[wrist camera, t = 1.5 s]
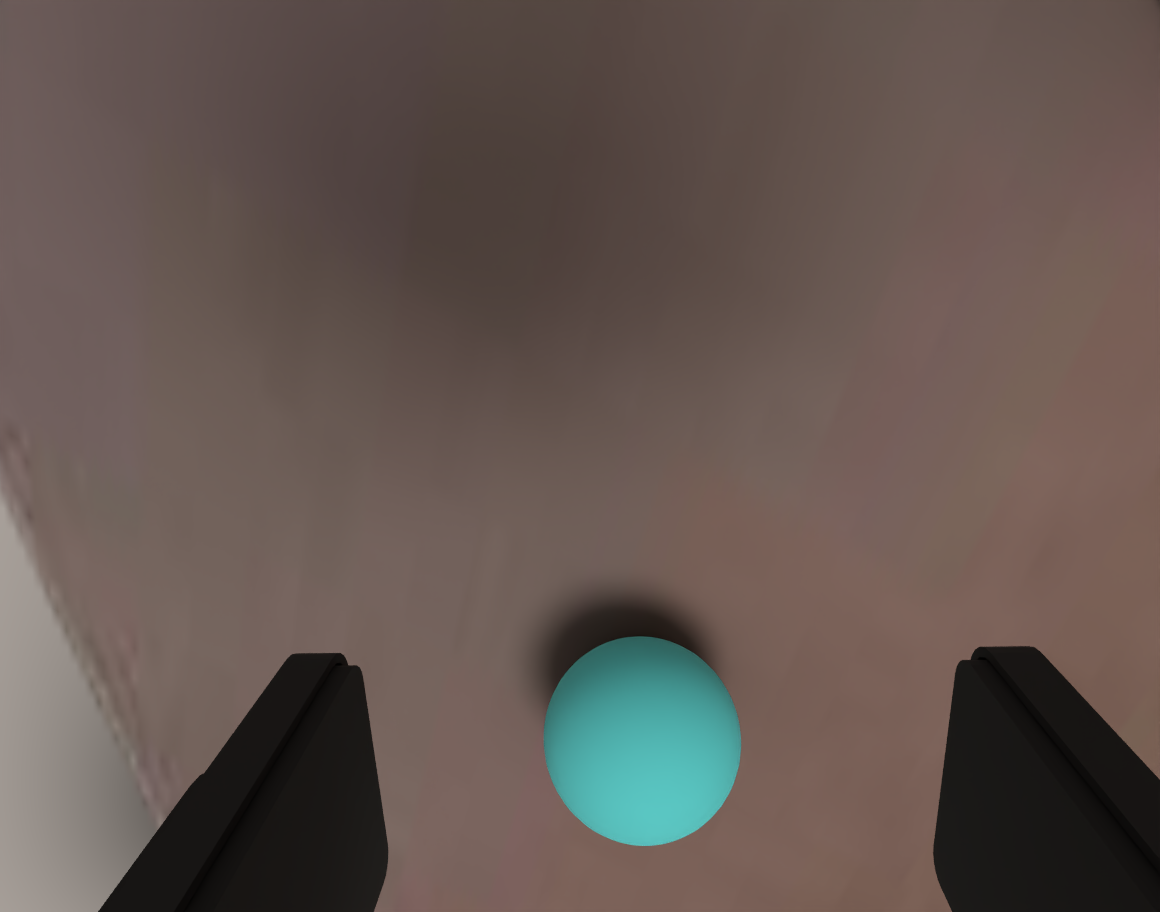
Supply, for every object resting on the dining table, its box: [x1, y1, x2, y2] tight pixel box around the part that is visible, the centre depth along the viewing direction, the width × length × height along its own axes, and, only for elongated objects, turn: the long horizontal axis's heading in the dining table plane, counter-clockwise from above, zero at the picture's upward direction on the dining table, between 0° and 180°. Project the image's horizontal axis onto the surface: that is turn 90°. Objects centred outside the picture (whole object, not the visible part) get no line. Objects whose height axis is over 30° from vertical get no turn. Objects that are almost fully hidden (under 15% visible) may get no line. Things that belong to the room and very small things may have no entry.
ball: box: [544, 636, 741, 846], centre depth 24 cm, size 6×6×6 cm
